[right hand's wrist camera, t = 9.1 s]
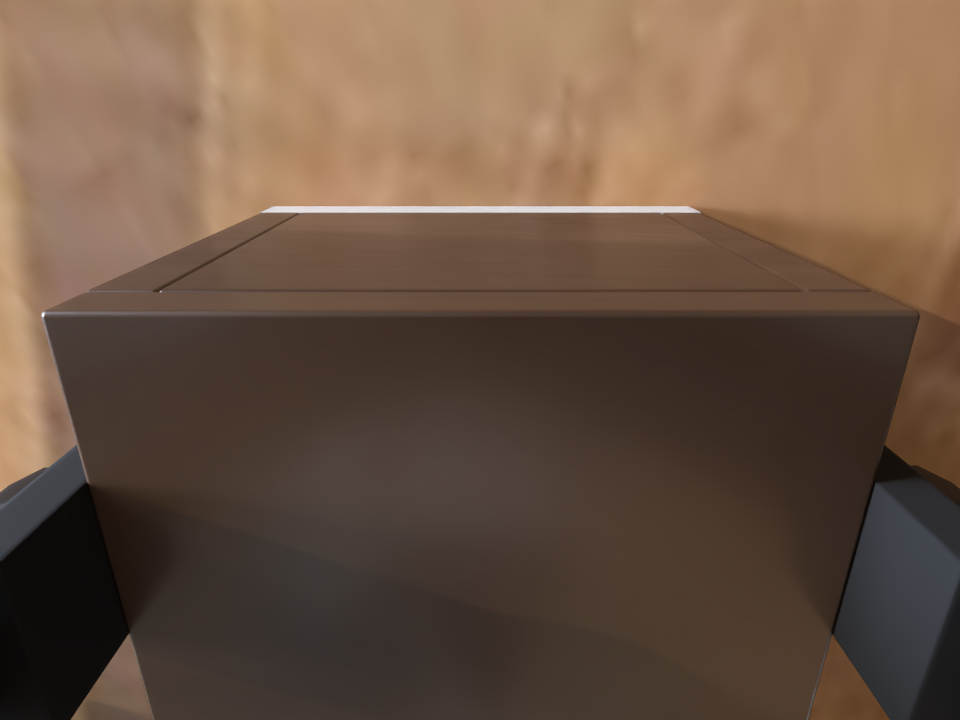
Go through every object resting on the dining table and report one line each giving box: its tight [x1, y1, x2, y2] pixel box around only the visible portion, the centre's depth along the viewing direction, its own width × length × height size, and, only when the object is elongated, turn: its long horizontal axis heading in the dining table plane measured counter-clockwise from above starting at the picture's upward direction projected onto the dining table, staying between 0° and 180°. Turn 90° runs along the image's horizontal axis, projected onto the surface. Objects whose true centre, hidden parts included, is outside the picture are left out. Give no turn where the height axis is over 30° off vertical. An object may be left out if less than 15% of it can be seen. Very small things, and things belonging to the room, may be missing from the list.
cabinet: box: [42, 206, 920, 720], centre depth 14 cm, size 15×11×9 cm
